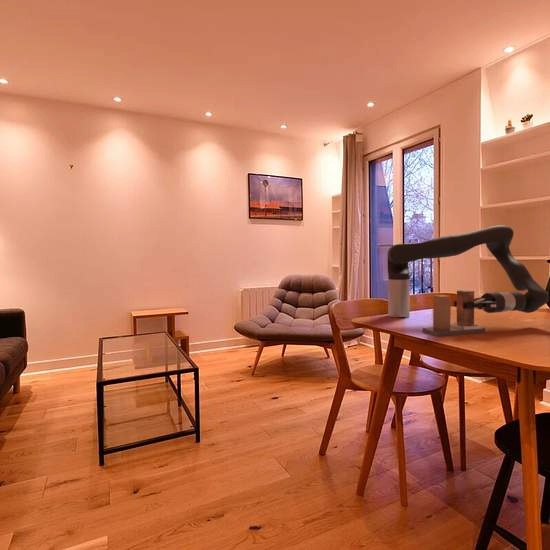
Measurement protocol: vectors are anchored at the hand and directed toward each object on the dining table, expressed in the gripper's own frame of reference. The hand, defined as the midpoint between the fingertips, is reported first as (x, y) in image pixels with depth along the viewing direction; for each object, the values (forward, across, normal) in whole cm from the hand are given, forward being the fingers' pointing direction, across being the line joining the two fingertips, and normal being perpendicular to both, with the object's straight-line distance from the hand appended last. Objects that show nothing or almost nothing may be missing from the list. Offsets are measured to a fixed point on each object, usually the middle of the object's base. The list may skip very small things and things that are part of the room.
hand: (459, 304), depth 133 cm
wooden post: (-3, 0, +7) cm, 8 cm away
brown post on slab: (+2, 0, +10) cm, 10 cm away
